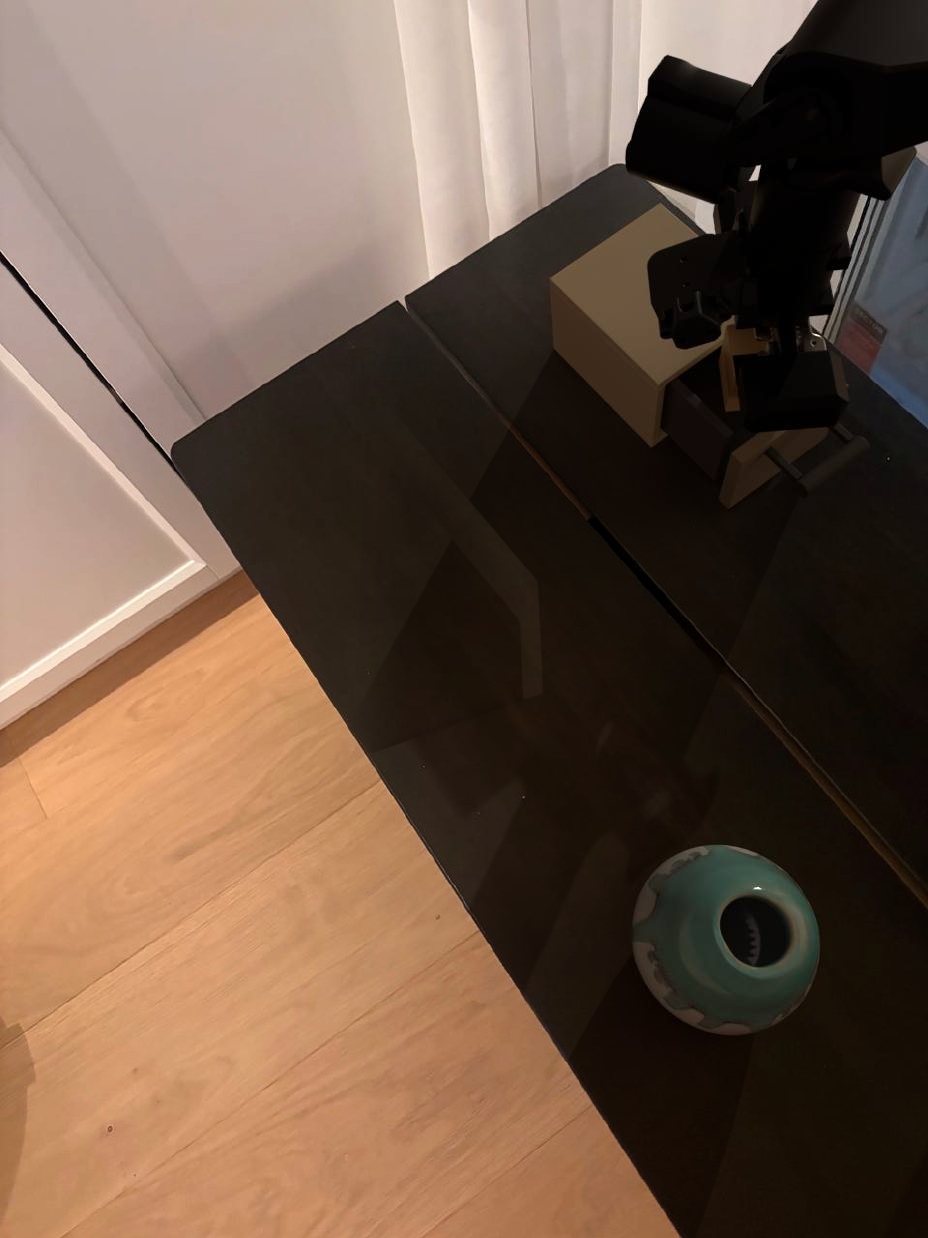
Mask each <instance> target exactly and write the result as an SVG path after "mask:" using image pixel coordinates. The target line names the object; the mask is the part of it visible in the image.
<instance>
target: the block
mask: <svg viewBox="0 0 928 1238" xmlns="http://www.w3.org/2000/svg"><path fill="white" fill-rule="evenodd" d="M769 330H771V334H770V335H772V329H771V327H770V329H769ZM768 341H773V335H772V339H771V340H768ZM768 341H761V342H760V341H757V340H756V339H755V333H754V328H748V329H737V330H736V329H735V324H729V325H727V326H726V330H725V335H724V340H723V344H722V349H721V354H720V358H719V369H720V376H721V384H722V391H723V399H724V406H725V412H729V411H740V405H739V398H738V387H737V384H736V377H735V370H734V363H733V355H742V354H754V353H758V352H759V351H765V352H766V345H767V342H768Z"/></svg>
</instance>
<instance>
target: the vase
mask: <svg viewBox="0 0 928 1238" xmlns="http://www.w3.org/2000/svg"><path fill="white" fill-rule="evenodd" d="M631 919H632V920H631V929H630V938H631V947H632V949H631V951H632V955H633V959H634V962H635V965H636V968H637V970H638V972H639V974H640V976H641V979H642V980H643V982H644V984H645V986H646V987H647V989H648V990H649V992H650V993H651V994H652V995H653V997H654V998H655V999H656V1001H658V1003H659V1004H660V1005H661V1006H663V1008H664V1009H666V1010H667V1011H668V1012H669V1013H670V1014H672V1016H674V1017H676V1018H677V1019H678V1020H679V1021H682V1022H683V1023H684V1024H687V1025H688V1026H690V1027H693V1028H695V1029H698V1030H700V1031H704V1032H707V1033H710V1034H716V1035H719V1036H720V1035H721V1036H745V1035H749V1034H754V1033H758V1032H761V1031H764V1030H767V1029H769V1028H771V1027H773V1026H776V1025H777V1024H779V1023H781V1022H782V1021H784V1020H785V1019H786V1018H787V1017H789V1016H790V1015H791V1014H792V1013H794V1011H795V1010H797V1008H798V1007H799V1006H800V1005H802V1002H803V1001H804V1000H805V998H806V997H807V996H808V994H809V992H810V990H811V988H812V986H813V983H814V981H815V979H816V976H817V971H818V968H819V962H820V950H821V944H820V943H821V942H820V931H819V930H820V929H819V926H818V921H817V918H816V916H815V913H814V910H813V908H812V905H811V903H810V901H809V899H808V897H807V896H806V894H805V893H804V891H803V889H802V888H801V887H800V886H799V884H798V883H797V882H796V881H795V879H793V878H792V877H791V876H790V874H789V873H788V872H787V871H785V870H784V869H783V868H782V867H780V866H779V865H778V864H776V863H775V862H773V861H772V860H770V859H768V858H766V857H765V856H763V855H761V854H759V853H757V852H755V851H751V850H750V849H746V848H742V847H739V846H732V845H726V844H725V845H724V844H708V845H701V846H695V847H693V848H689V849H686V850H683V851H681V852H679V853H677V854H675V855H673V856H671V857H669V858H668V859H666V860H665V861H664V862H662V863H661V864H660V865H659V866H657V867H656V869H655V870H653V872H652V873H651V874H650V876H648V878H647V879H646V881H645V882H644V884H643V886H642V888H641V889H640V891H639V893H638V895H637V897H636V900H635V903H634V908H633V913H632V918H631Z"/></svg>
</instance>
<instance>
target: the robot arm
mask: <svg viewBox="0 0 928 1238" xmlns="http://www.w3.org/2000/svg"><path fill="white" fill-rule="evenodd" d="M646 88H647V89H646V95H645V97H644V99H643V102H642V103H641V106H640V109H639V111H638V114H637V117H636V120H635V122H634V125H633V130H632V133H631V138H630V140H629V142H628V143H627V144H626V147H625V154H624V155H625V156H624V163H625V169H626V172H627V174H629V175H631V176H634V177H636V178H639V179H642V180H644V181H647V182H649V183H652V184H656V185H658V186H660V187H664V188H667V189H669V190H671V191H675V192H678V193H680V194H683V195H686V196H688V197H691V198H695V199H696V200H699V201H703V202H705V203H708V204H711V205H713V211H712V220H713V226H714V233H704V234H700V235H698V237H695V238H693V239H690V240H687V241H684V242H681V243H679V244H676V245H673V246H670V247H667V248H664V249H662V250H659V251H657V252H655V253H654V254H653V255H652V256H651V257H650V259H649V260H648V263H647V272H648V281H649V291H650V300H651V305H652V307H653V309H654V311H655V313H656V315H657V317H658V322H659V331H660V337H661V338H662V339H671V338H672V340H673V342H674V344H675V346H676V347H677V348H679V349H683V350H687V349H690V348H693V347H697V346H700V345H703V344H707V343H710V342H713V341H716V340H717V339H718V338H719V337H720V336H721V334H722V333H721V325H722V323H724V322H725V321H728V320H729V319H731V317H732V315H735V316H734V322H735V329H736V330H737V329H748V328H754V333H755V339H756V340H757V341H760V342H761V341H768V340H771V339H772V335H773V341H768V342H767V345H766V352H765V351H759V352H758V353H754V354H742V355H733V363H734V370H735V377H736V384H737V387H738V398H739V405H740V412H741V419H742V426H743V427H744V428H746V429H747V430H749V431H750V432H752V433H760V432H772V431H785V430H798V429H810V428H823V427H834V426H835V425H836V424H837V423H840V421H841V420H842V419H843V417H844V415H845V413H846V411H847V409H848V407H849V404H850V397H849V393H848V388H847V386H846V384H847V381H846V376H845V372H844V366H843V360H842V357H841V356H840V355H838V354H837V353H836V352H834V351H833V350H831V349H827V343H826V341H825V338H824V337H823V336H822V335H820V334H816V333H814V332H813V329H812V323H811V318H810V317H820V316H831V315H832V314H833V310H834V308H835V305H836V304H835V303H836V302H835V298H834V293H833V288H832V282H831V281H832V277H833V274H834V272H835V271H843V270H848V269H849V267H850V264H851V261H852V259H853V254H852V250H851V245H850V239H849V235H848V233H849V229H850V226H851V224H852V220H853V218H854V215H855V212H856V208H857V206H858V203H859V201H860V197H861V195H864V196H866V197H869V198H872V199H875V200H877V201H881V202H887V201H888V200H891V198H892V196H893V195H894V193H895V192H896V190H897V188H898V186H899V184H900V183H901V181H902V180H903V178H904V177H905V176H906V173H907V172H908V170H909V169H910V166H911V164H912V163H913V161H914V160H915V158H916V157H917V154H918V150H917V148H916V146H919V145H922V144H925V143H927V142H928V0H816V2H815V3H814V5H813V7H812V8H811V9H810V11H809V12H808V14H807V15H806V17H805V18H804V20H803V21H802V23H801V24H800V26H799V27H798V29H797V31H795V33H794V35H792V38H791V39H790V40H789V41H788V42H786V43H785V44H784V45H782V46H781V47H780V48H778V50H776V51H775V53H774V54H773V55H772V56H771V58H770V59H769V61H768V62H767V63H766V65H765V66H764V67H763V69H762V70H761V72H760V73H759V75H758V76H757V78H756V80H754V82H753V84H751V83H748V82H744V81H742V80H739V79H737V78H732V77H729V76H726V75H723V74H719V73H716V72H713V71H710V70H707V69H705V68H704V69H703V68H701V67H698V66H696V65H694V64H693V63H691V62H689V61H688V60H685V59H683V58H680V57H676V56H673V55H670V54H666V55H664V56H663V57H662V59H661V60H660V61H659V63H658V64H657V66H656V67H655V68H654V70H653V71H652V73H651V74H650V75H649V77H648V78H647V87H646ZM757 167H759V171H758V175H757V179H755V180H751V179H752V176H753V174H754V172H755V170H756V168H757ZM770 327H771V329H772V335H770V334H771V330H769V329H770Z"/></svg>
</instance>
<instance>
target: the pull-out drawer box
mask: <svg viewBox="0 0 928 1238" xmlns="http://www.w3.org/2000/svg"><path fill="white" fill-rule="evenodd" d="M721 349H722V345H721V346H720V347H718V348H717V349H716V350H714V351H713V352H711V353H710V354H709V355H707V356H706V357H704V358H703V359H702V360H700V361H699V362H697V363H696V364H695V365H693V366H692V367H690V368H689V369H687V370H686V371H685V372H683V373H682V374H680V375H679V376H678V377H676V378H675V379H673V380H672V381H671V382H669V383H668V384H666V385H665V392H664V400H663V408H662V416H661V423H660V428H661V429H662V430H663V431H664V432H665V433H666V434H667V435H668V436H667V437H669V438H670V439H671V440H672V441H673V442H674V443H675V444H676V445H677V446H678V447H679V448H680V449H681V450H682V451H683V452H684V453H685V454H686V455H687V457H688V458H690V459H691V460H692V461H693V462H694V463H695V464H696V465H697V466H698V467H699V468H700V469H701V470H702V471H703V472H704V473H705V474H706V475H707V476H708V477H709V478H710V479H711V480H712V481H713V482H716V481H718V480H720V478H722V477H723V476H724V477H723V482H722V485H721V487H720V488H721V489H720V492H719V496H718V501H719V503H721V504H722V505H723V506H724V507H725V508H726V509H727V510H730V509H731V508H733V506H735V505H736V504H738V503H739V502H740V501H742V500H743V499H745V498H746V497H747V496H748V495H750V494H752V493H753V492H755V490H757V489H758V488H760V487H761V486H762V485H764V484H765V483H766V482H767V481H769V480H770V479H771V478H773V477H774V476H776V475H777V474H778V473H780V472H783V474H785V476H787V477H788V478H789V479H790V481H792V482H793V483H794V484H793V487H794V489H795V491H796V493H797V494H798V495H799V496H801V497H802V498H808V497H809V496H811V495H813V493H815V492H817V490H819V489H821V488H822V487H823V486H824V485H826V484H827V483H829V481H831V480H832V479H834V478H835V477H836V476H837V475H839V474H841V473H842V472H843V471H844V470H846V469H847V468H849V467H850V466H851V465H853V464H854V463H855V462H856V461H858V460H859V459H861V458H862V457H863V456H864V455H866V454H867V453H868V452H870V449H871V447H870V444H869V442H868V440H867V439H866V438H864V437H863V436H861V435H858V436H854V435H852V434H851V432H849V431H848V430H847V428H845V427H844V426H843V425H841V423H840V422H838V423H837V424H836V425H835V426H834V427H823V428H810V429H798V430H785V431H772V432H760V433H752V432H750V431H749V430H747V429H746V428H744V427H743V426H742V419H741V412H740V411H729V412H725V406H724V399H723V391H722V384H721V376H720V369H719V358H720V354H721ZM846 386H847V389H848V388H849V384H848V383H846ZM829 432H831V433H832V434H833V435H835V437H836V438H838V439H839V440H840V441H841V442H842V443H843V444H844V445H843V446H842V447H840V448H839V449H838V450H836V451H835V452H833V453H832V454H831V455H830V456H828V457H827V458H825V460H823V461H822V462H820V463H819V464H818V465H816V466H815V467H813V468H812V469H811V470H809V471H808V472H807V473H805V474H802V472H800V471H799V470H798V469H797V468H796V467H795V466H794V465H793V464H792V463H793V462H795V461H796V460H797V459H799V458H800V457H801V456H803V455H804V454H806V453H807V452H808V451H809V450H811V449H812V448H814V447H815V446H816V445H818V444H819V443H820V442H821V441H823V440H824V439H826V437H827V436H828V433H829Z"/></svg>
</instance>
